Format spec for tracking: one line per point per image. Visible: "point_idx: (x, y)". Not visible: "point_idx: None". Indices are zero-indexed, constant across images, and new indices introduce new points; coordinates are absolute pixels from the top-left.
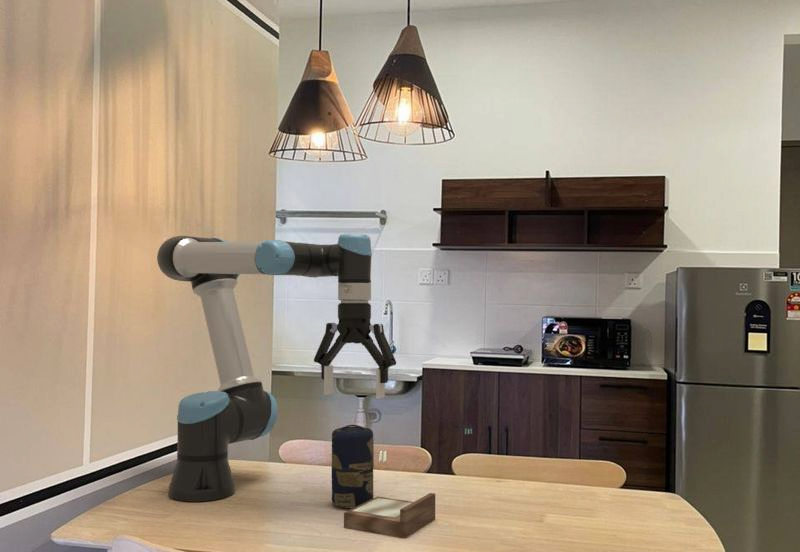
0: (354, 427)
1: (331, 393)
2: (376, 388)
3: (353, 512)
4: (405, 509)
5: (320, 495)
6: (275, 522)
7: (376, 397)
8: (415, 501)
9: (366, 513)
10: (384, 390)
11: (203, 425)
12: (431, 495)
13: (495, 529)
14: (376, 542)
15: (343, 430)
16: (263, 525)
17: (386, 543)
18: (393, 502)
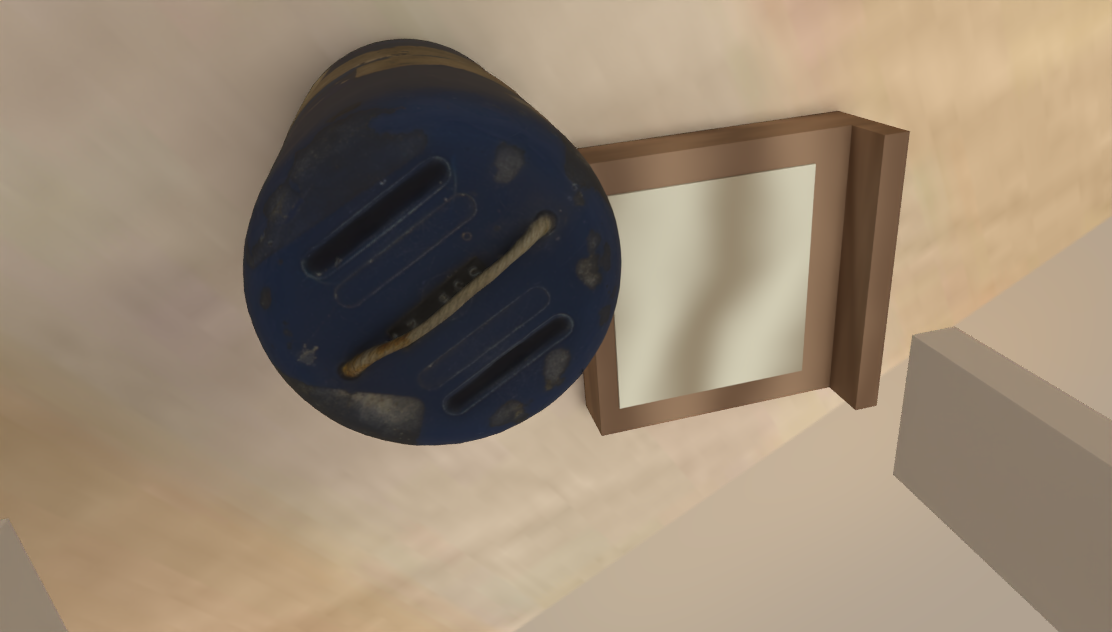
0: (378, 196)
1: (27, 565)
2: (995, 561)
3: (631, 412)
4: (873, 399)
5: (125, 105)
6: (333, 518)
7: (908, 480)
8: (870, 292)
9: (683, 395)
10: (1028, 377)
11: None
12: (903, 172)
13: (1068, 81)
14: (755, 438)
15: (410, 379)
16: (327, 561)
17: (785, 425)
18: (706, 214)
